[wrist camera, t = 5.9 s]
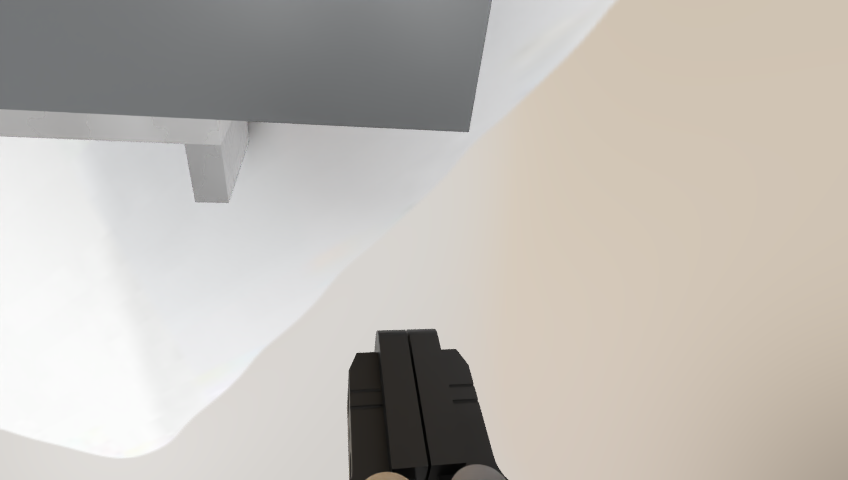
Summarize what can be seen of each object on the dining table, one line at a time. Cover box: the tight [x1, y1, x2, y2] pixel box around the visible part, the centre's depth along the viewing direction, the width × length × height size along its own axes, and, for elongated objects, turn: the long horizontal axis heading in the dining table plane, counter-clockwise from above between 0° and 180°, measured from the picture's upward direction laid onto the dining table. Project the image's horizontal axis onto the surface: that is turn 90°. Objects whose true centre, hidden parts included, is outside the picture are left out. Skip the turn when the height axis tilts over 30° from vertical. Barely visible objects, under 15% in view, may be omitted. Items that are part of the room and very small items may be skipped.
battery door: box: [0, 109, 249, 203], centre depth 24 cm, size 4×10×7 cm, turn 83°
